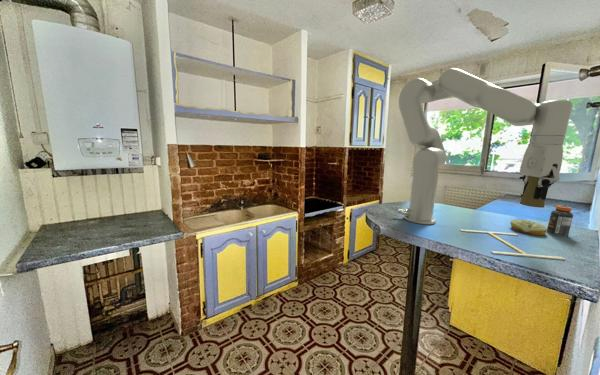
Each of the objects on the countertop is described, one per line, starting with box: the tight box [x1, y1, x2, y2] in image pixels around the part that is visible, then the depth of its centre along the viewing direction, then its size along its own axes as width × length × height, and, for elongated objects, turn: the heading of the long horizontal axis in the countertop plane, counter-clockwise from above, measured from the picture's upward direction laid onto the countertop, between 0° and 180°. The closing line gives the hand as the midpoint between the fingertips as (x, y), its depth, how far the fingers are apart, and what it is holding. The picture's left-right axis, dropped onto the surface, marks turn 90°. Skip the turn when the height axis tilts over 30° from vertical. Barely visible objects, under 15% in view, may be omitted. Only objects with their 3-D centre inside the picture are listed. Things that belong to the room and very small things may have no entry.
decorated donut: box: [510, 219, 548, 237], centre depth 97 cm, size 10×11×4 cm
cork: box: [519, 176, 548, 209], centre depth 80 cm, size 6×6×11 cm
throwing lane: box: [459, 228, 566, 261], centre depth 84 cm, size 20×20×1 cm
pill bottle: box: [546, 204, 574, 237], centre depth 94 cm, size 6×6×11 cm
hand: (533, 196), depth 80 cm, fingers closed on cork, 3 cm apart
